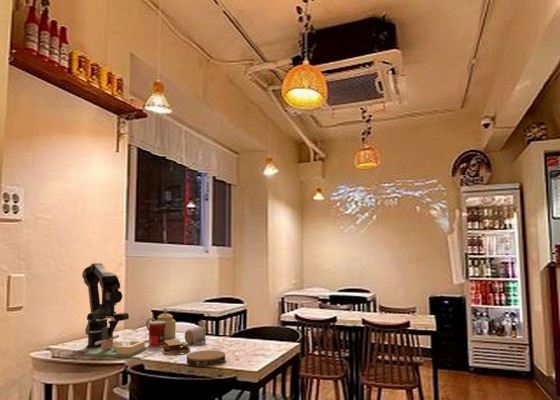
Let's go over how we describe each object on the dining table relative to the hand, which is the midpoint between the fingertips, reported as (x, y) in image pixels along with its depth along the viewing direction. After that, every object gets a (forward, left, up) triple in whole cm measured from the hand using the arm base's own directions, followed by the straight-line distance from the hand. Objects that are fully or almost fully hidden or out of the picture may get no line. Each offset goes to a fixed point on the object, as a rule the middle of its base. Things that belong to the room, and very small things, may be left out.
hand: (107, 335), depth 209 cm
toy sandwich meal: (+32, +5, -8) cm, 33 cm away
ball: (+5, 0, -4) cm, 7 cm away
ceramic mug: (+35, +23, -8) cm, 43 cm away
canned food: (+16, +18, -8) cm, 25 cm away
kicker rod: (0, 0, -6) cm, 6 cm away
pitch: (+5, 0, -8) cm, 9 cm away
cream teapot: (+10, +35, -8) cm, 37 cm away
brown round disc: (+53, -9, -8) cm, 54 cm away
